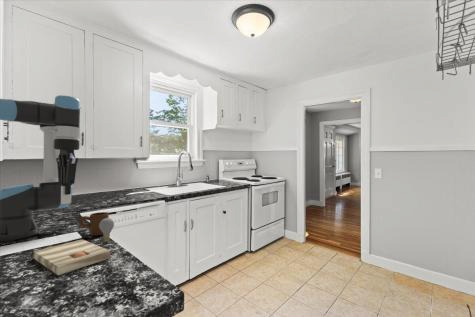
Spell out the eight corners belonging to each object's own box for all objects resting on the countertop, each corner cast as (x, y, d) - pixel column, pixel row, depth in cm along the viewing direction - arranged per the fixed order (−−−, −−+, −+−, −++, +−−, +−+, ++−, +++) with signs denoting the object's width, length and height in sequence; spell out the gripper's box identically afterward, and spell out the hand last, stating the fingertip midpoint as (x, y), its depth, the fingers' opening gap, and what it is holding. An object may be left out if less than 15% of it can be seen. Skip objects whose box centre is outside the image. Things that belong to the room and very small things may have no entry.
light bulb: (117, 240, 97) (117, 217, 97) (105, 245, 92) (106, 220, 92) (107, 239, 99) (107, 216, 99) (95, 243, 94) (96, 219, 94)
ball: (74, 251, 74) (77, 261, 73) (85, 248, 77) (88, 257, 76) (70, 257, 75) (73, 266, 74) (82, 253, 78) (85, 262, 77)
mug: (79, 239, 99) (79, 217, 99) (77, 235, 105) (77, 215, 105) (110, 233, 107) (110, 213, 107) (106, 230, 113) (106, 211, 113)
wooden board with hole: (33, 258, 79) (33, 251, 79) (82, 245, 91) (82, 239, 91) (58, 275, 67) (58, 266, 67) (110, 257, 79) (110, 250, 79)
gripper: (47, 139, 84) (46, 202, 84) (61, 137, 77) (60, 207, 76) (71, 140, 90) (70, 200, 90) (86, 139, 83) (85, 203, 83)
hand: (66, 203), depth 83 cm, fingers closed
